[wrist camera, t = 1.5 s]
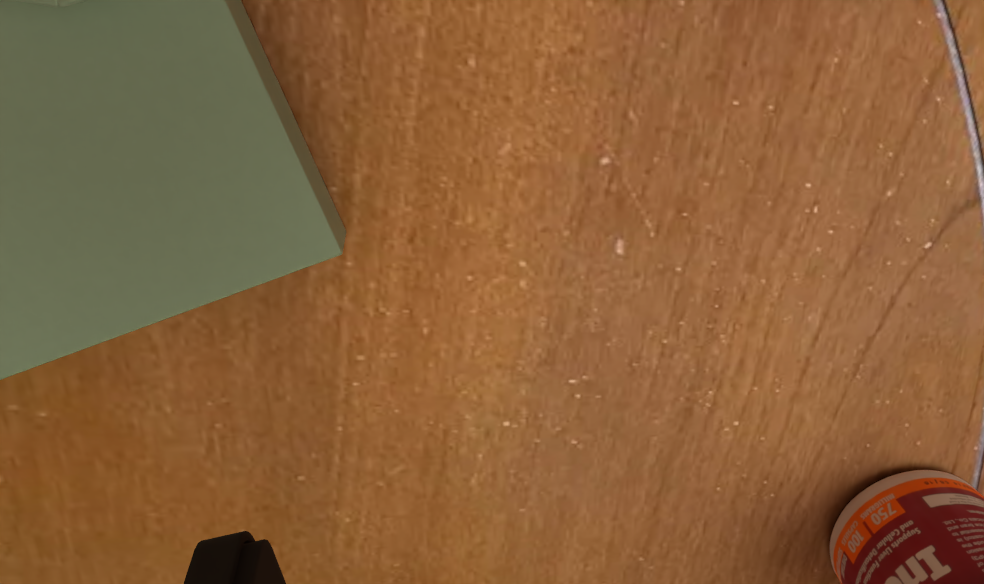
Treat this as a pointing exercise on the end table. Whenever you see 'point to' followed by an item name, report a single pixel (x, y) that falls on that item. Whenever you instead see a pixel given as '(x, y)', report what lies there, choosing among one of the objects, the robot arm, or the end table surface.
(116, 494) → the end table surface
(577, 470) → the end table surface
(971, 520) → the pill bottle
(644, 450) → the end table surface
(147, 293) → the scale
